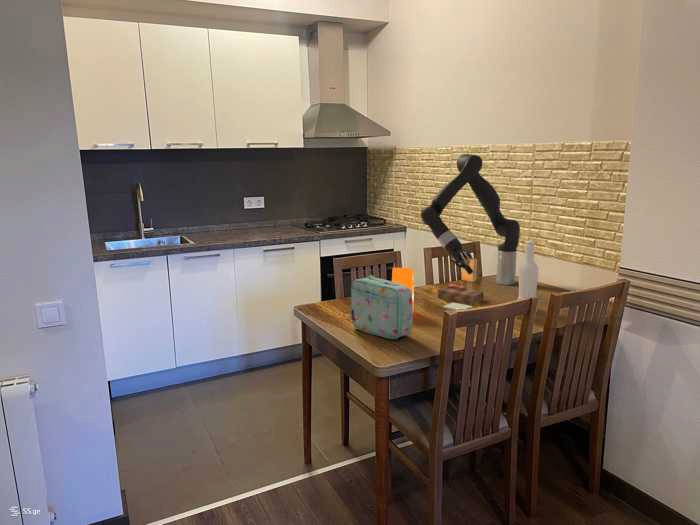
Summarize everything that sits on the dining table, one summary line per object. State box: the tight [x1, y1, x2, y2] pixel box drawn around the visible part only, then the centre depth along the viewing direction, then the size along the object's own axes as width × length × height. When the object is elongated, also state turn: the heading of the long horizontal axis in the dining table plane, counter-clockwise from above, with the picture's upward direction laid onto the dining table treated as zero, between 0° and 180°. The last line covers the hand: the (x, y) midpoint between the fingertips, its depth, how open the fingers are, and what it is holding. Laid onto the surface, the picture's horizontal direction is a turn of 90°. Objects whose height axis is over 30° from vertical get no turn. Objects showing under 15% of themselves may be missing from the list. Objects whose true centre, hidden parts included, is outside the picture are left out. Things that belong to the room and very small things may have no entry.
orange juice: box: [391, 267, 415, 312], centre depth 212 cm, size 8×9×20 cm
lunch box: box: [349, 275, 414, 340], centre depth 189 cm, size 27×10×21 cm, turn 45°
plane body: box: [437, 282, 484, 306], centre depth 232 cm, size 18×10×6 cm, turn 47°
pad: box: [442, 301, 474, 311], centre depth 220 cm, size 10×8×1 cm
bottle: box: [517, 240, 539, 300], centre depth 212 cm, size 8×8×30 cm
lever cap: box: [461, 258, 478, 282], centre depth 223 cm, size 6×3×10 cm, turn 47°
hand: (473, 272), depth 222 cm, fingers closed on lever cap, 3 cm apart
